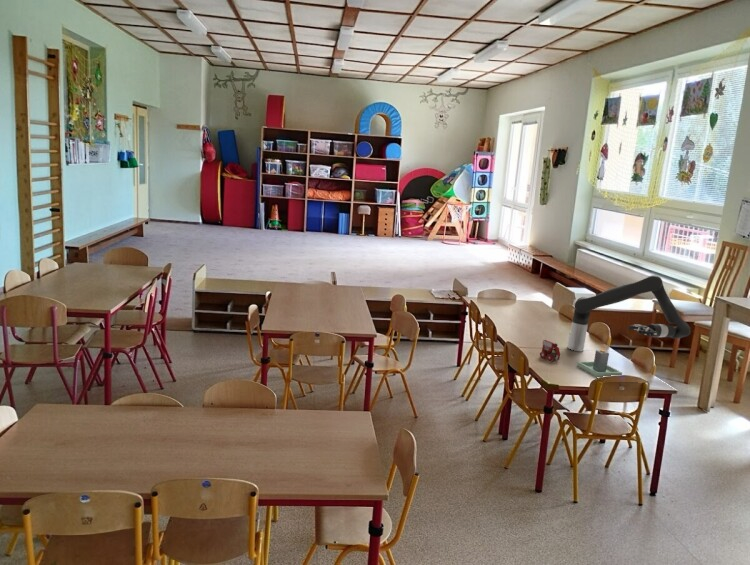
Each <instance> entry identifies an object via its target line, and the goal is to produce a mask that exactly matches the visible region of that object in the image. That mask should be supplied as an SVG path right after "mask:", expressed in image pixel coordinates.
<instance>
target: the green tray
mask: <svg viewBox="0 0 750 565" xmlns="http://www.w3.org/2000/svg"><path fill="white" fill-rule="evenodd" d="M593 364H594V361H577V365H576V367H577V369H578V368H579V369H580V370H582V371H584V372H586V374H589V375H590V374H591V375H590V376H592V377H594V378H596V379H598V378H597V377H603V376H611V375H623V372H622V371H620V370H618V369H617V368H614V367H612V366H611V365H609V364H607V368H606V372H597V371H595V370H594V369H593Z"/></svg>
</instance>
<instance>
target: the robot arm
mask: <svg viewBox="0 0 750 565" xmlns="http://www.w3.org/2000/svg"><path fill="white" fill-rule="evenodd" d="M650 292H651V293H652V294H653V296H654V297H655V298H656V301H657V303H658V305H659V306H660V309H661V311H662V313H663V315H664V317H665V319H666V320H667V322H668V323H669V324H664V323H663V324H662V323H650V324H648V325H643V324H638V323H637V324H635V323H634V324H632V325H628V326H627V329H628V330H634V331H637V334H638V335H645V336H647V337H650V338H671V339H682V338H685V337H688V336H690V334H691V327H690V326H689V324H688V323H687V322H686V321H685V320H684V319H683V318H682V317H681V316H680V314H679V312H678V310H677V309H676V307H675V306H674V304H673V301H671V299H670V297H669V295H668V294H667V291H666V289H665V287H664V284H663V279H662V278H661V277H660V276H658V275H656V274H652V275H649V276H647V277H645V278H643V279H641V280H638V281H635V282H631V283H626V284H621V285H618V286H614V287H611V288H610V289H609V288H608V289H606V290H604V291H603V292H600V293H599V294H596V295H594V296H590V297H586V296H581V297H579V298H577V300H576V301H575V302H574V313H573V316H572V322H571V326H570V327H571V328H570V332H569V336H568V342H567V348H568V349H569V350H570V349H571V351H573V350H574V352H583V351H584V348H585V343H586V339H587V338H586V337H587V331H588V325H589V320H590V315H591V311H594V310H595V309H598V308H601V307H606V306H610V305H614V304H617V303H621V302H624V301H626V300H627V301H628V300H630V299H631V298H634V297H636V296H639V295H641V294H645V293H650ZM670 324H671V325H670ZM672 324H674V325H675V326H673V325H672Z"/></svg>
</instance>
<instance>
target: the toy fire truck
mask: <svg viewBox="0 0 750 565" xmlns="http://www.w3.org/2000/svg"><path fill="white" fill-rule="evenodd" d="M560 352H561V351H560V347H559V346H558V343H556V342H555V343H554V342H552V341H549V340H547V339H543V340H542V348H541V352H539V357H540V358H541V359H546V360H547V361H548V362H553V361H559V360H560V358H561V353H560Z"/></svg>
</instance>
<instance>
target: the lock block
mask: <svg viewBox="0 0 750 565" xmlns="http://www.w3.org/2000/svg"><path fill="white" fill-rule="evenodd" d="M609 358H610V353H609V352H608V351H606V350H605V349H598V350H597V349H596V350H595V354H594V361H593V362H594V364H593V369H594V370H595V371H597V372H606V368H607V365H608V363H609V362H608V361H609Z"/></svg>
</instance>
